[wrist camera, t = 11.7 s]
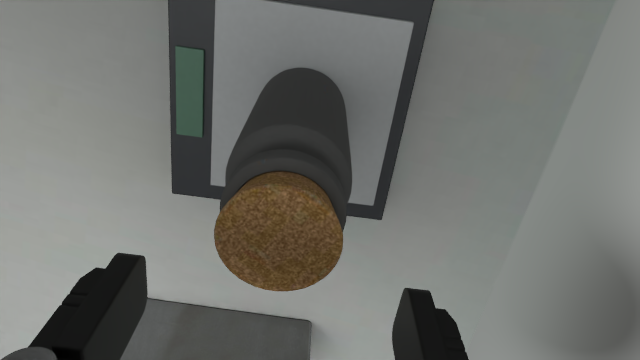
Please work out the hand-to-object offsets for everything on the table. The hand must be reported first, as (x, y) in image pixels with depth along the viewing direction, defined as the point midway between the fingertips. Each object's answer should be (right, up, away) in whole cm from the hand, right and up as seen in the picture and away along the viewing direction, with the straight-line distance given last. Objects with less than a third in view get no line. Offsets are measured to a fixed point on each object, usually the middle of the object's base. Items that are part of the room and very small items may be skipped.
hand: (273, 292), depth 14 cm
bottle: (0, +8, +16) cm, 18 cm away
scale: (-1, +10, +18) cm, 20 cm away
